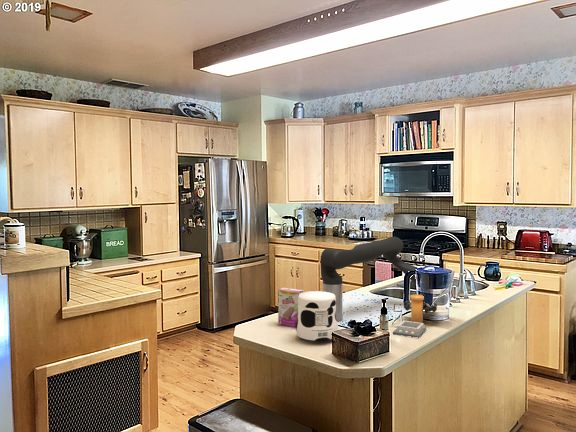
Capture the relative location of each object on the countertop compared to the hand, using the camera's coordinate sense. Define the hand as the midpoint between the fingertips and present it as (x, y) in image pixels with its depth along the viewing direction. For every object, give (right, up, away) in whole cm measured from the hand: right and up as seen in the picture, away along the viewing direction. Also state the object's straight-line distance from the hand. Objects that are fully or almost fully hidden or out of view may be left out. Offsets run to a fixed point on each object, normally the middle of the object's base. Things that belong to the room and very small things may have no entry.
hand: (416, 309), depth 209 cm
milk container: (-45, -9, -15) cm, 48 cm away
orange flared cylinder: (+1, -7, +1) cm, 8 cm away
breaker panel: (-5, -8, -8) cm, 12 cm away
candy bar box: (-56, -8, +3) cm, 56 cm away
